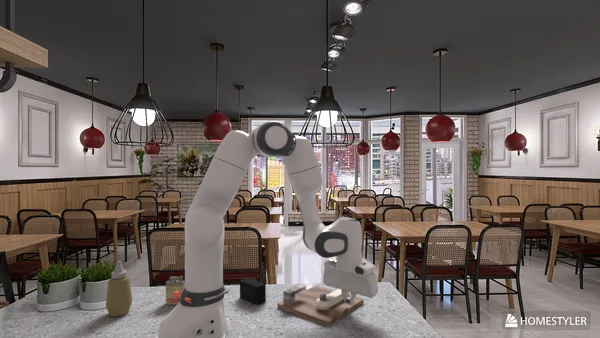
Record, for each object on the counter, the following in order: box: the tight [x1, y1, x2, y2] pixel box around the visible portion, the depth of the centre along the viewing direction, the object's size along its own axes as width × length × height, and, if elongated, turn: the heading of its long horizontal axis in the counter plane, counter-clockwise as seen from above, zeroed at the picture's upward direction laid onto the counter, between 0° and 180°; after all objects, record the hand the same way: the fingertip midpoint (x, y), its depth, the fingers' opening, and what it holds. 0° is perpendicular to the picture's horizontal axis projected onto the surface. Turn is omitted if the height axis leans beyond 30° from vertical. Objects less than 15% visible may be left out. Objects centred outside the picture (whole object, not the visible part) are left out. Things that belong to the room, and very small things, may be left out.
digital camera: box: [239, 277, 267, 307], centre depth 126 cm, size 10×5×7 cm, turn 47°
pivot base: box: [276, 283, 365, 327], centre depth 121 cm, size 23×22×6 cm
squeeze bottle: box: [105, 260, 133, 318], centre depth 114 cm, size 8×8×18 cm
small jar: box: [165, 275, 185, 306], centre depth 123 cm, size 7×4×10 cm, turn 89°
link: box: [316, 288, 350, 311], centre depth 120 cm, size 18×5×2 cm, turn 140°
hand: (349, 303), depth 115 cm, fingers closed
